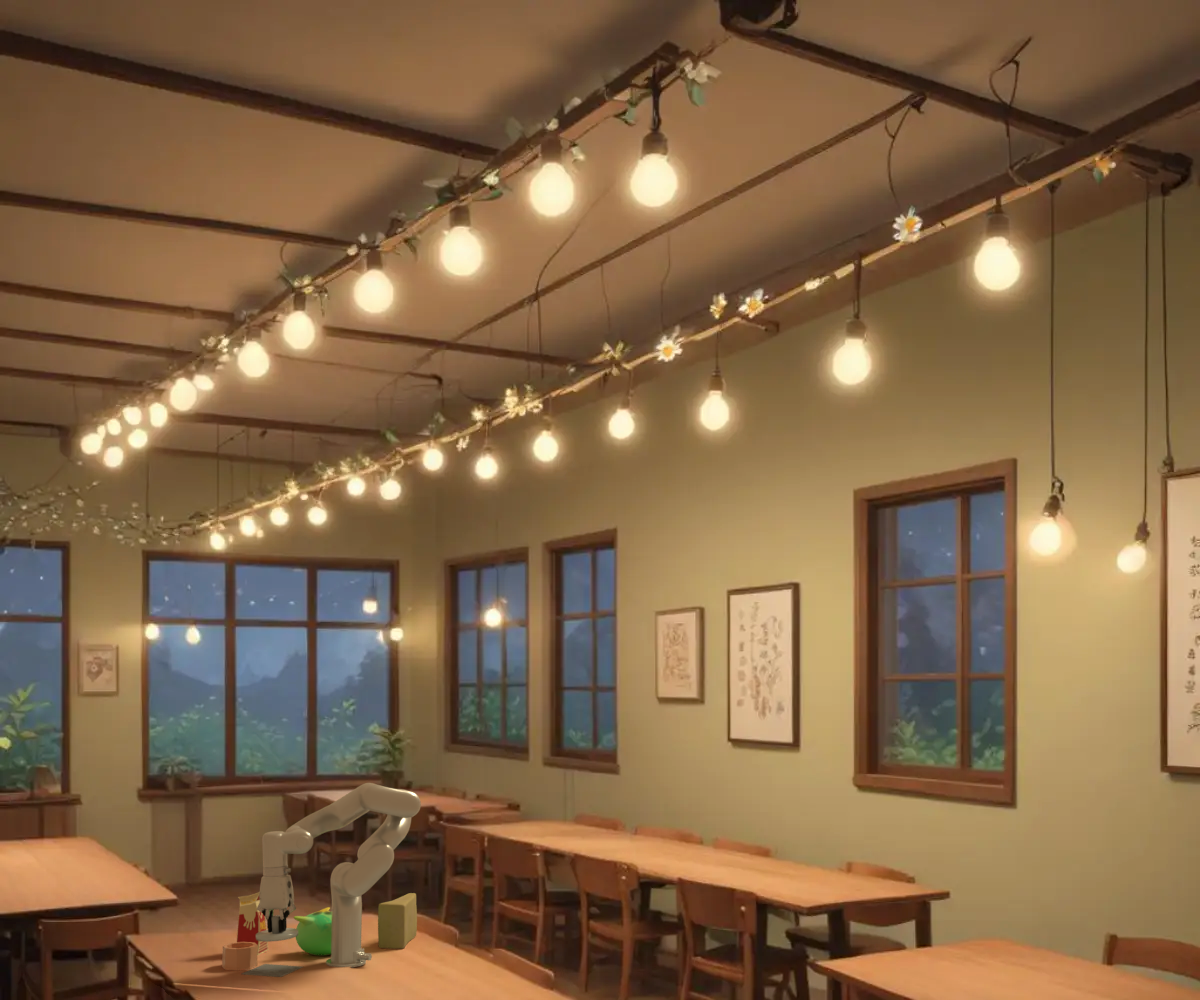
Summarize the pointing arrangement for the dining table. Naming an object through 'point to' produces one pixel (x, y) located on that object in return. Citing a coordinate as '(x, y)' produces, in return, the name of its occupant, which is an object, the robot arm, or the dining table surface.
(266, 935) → the lid
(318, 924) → the toy bird
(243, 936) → the milk carton
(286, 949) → the dining table surface
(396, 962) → the dining table surface
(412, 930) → the olive green block
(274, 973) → the mat
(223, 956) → the bowl
